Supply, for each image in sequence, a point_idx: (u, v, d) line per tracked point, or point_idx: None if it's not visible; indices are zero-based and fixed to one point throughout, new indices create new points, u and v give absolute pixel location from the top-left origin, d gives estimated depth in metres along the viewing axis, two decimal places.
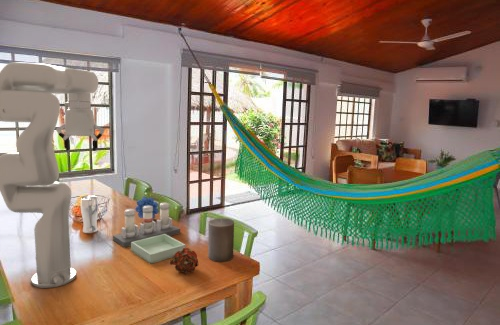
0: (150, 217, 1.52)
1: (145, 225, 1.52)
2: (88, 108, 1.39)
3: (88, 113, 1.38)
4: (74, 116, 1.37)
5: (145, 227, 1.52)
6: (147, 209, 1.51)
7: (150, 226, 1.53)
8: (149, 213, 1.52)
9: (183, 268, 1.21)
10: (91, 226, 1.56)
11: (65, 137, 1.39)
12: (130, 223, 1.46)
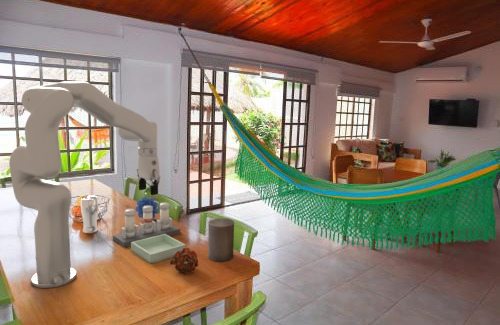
0: (150, 217, 1.52)
1: (145, 225, 1.52)
2: None
3: None
4: None
5: (145, 227, 1.52)
6: (147, 209, 1.51)
7: (150, 226, 1.53)
8: (149, 213, 1.52)
9: (183, 268, 1.21)
10: (91, 226, 1.56)
11: None
12: (130, 223, 1.46)
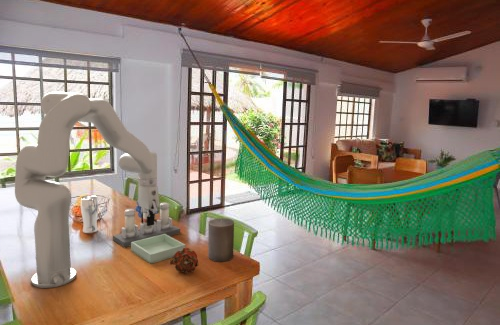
0: None
1: (145, 225, 1.52)
2: None
3: None
4: None
5: (145, 227, 1.52)
6: None
7: (150, 226, 1.53)
8: None
9: (183, 268, 1.21)
10: (91, 226, 1.56)
11: None
12: (130, 223, 1.46)
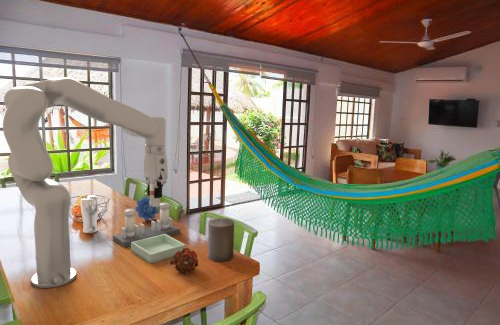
0: None
1: (152, 198, 1.39)
2: None
3: None
4: None
5: (152, 200, 1.39)
6: (154, 180, 1.37)
7: (157, 199, 1.39)
8: None
9: (183, 268, 1.21)
10: (91, 226, 1.56)
11: None
12: (130, 223, 1.46)
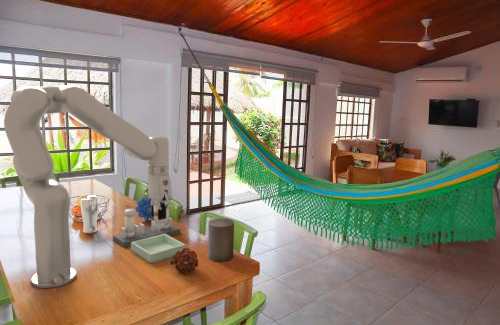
0: None
1: (156, 219, 1.36)
2: None
3: None
4: None
5: (156, 221, 1.36)
6: None
7: (162, 220, 1.37)
8: None
9: (183, 268, 1.21)
10: (91, 226, 1.56)
11: None
12: (130, 223, 1.46)
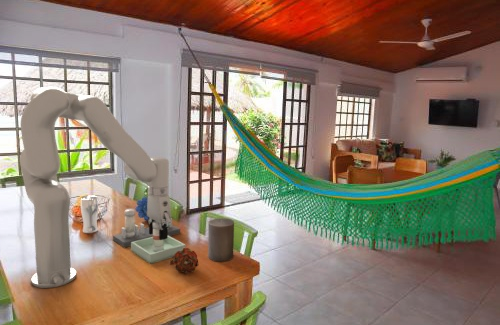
0: None
1: (155, 243, 1.37)
2: None
3: None
4: None
5: (155, 245, 1.37)
6: (157, 225, 1.36)
7: (161, 244, 1.38)
8: None
9: (183, 268, 1.21)
10: (91, 226, 1.56)
11: None
12: (130, 223, 1.46)
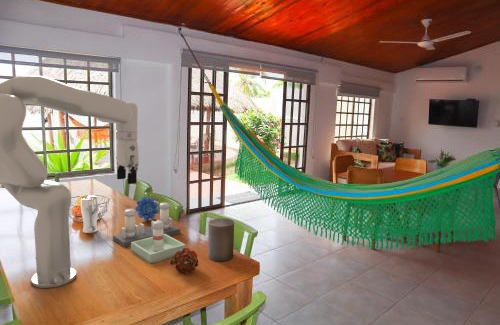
0: (161, 234, 1.37)
1: (155, 243, 1.37)
2: None
3: None
4: None
5: (155, 245, 1.37)
6: (158, 225, 1.36)
7: (161, 244, 1.38)
8: (160, 229, 1.37)
9: (183, 268, 1.21)
10: (91, 226, 1.56)
11: None
12: (130, 223, 1.46)
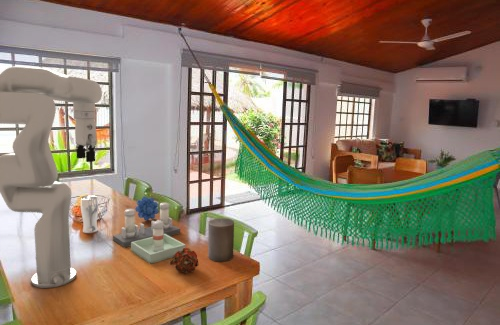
0: (161, 234, 1.37)
1: (155, 243, 1.37)
2: None
3: None
4: None
5: (155, 245, 1.37)
6: (158, 225, 1.36)
7: (161, 244, 1.38)
8: (160, 229, 1.37)
9: (183, 268, 1.21)
10: (91, 226, 1.56)
11: None
12: (130, 223, 1.46)
